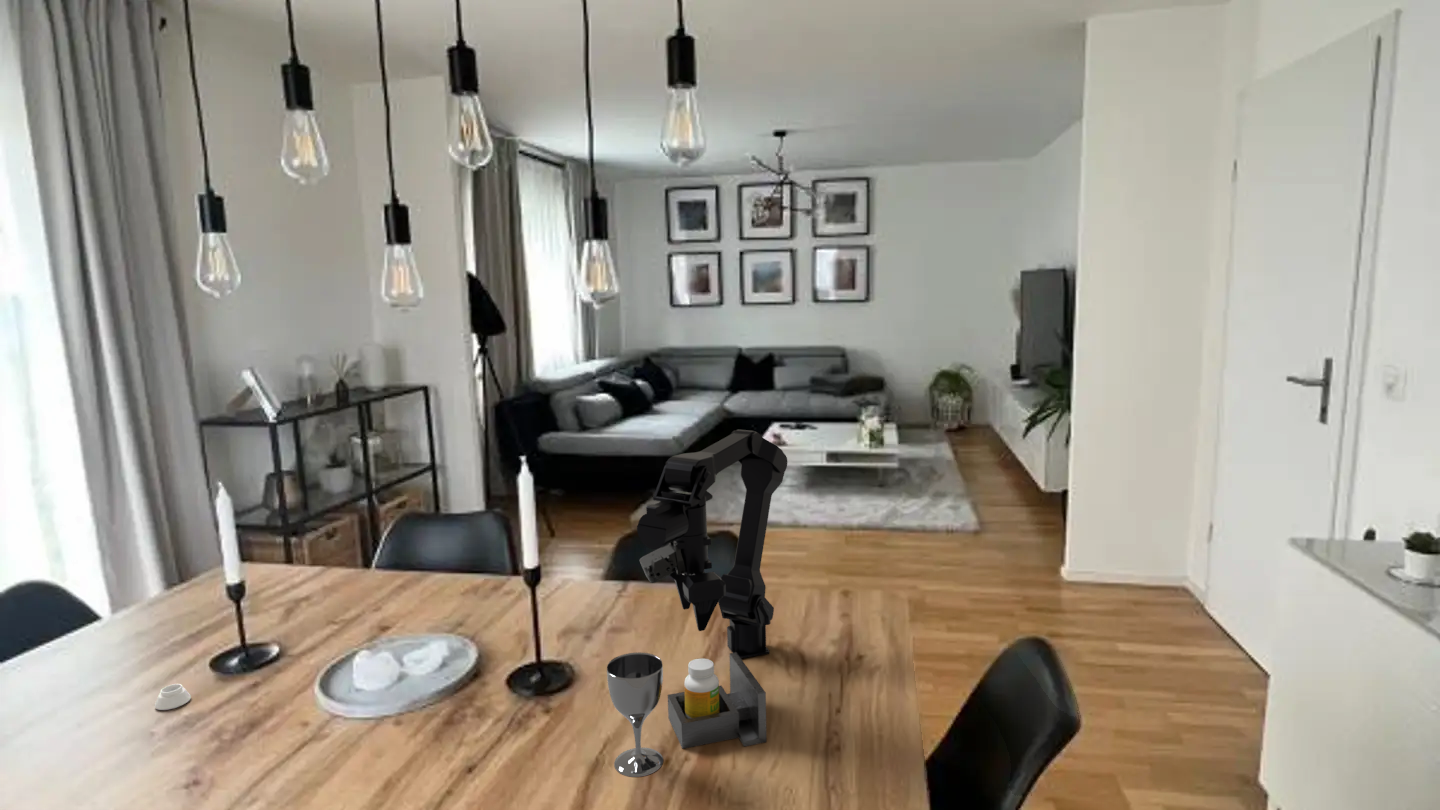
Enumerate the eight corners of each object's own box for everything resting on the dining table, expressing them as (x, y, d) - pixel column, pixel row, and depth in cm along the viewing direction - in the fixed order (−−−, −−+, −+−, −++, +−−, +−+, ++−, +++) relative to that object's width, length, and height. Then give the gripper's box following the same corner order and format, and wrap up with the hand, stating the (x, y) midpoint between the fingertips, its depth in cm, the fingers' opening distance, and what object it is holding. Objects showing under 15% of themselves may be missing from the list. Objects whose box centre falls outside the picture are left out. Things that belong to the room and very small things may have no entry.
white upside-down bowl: (148, 709, 131) (170, 713, 130) (146, 693, 131) (167, 697, 129) (176, 695, 136) (197, 699, 134) (174, 679, 136) (195, 683, 134)
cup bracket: (737, 697, 130) (736, 652, 129) (766, 741, 117) (765, 692, 116) (664, 710, 127) (663, 664, 126) (686, 758, 114) (684, 707, 112)
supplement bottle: (715, 733, 118) (714, 673, 117) (681, 730, 119) (679, 670, 118) (723, 715, 123) (721, 657, 122) (690, 712, 125) (688, 654, 123)
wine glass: (612, 748, 117) (608, 654, 114) (665, 744, 117) (662, 650, 115) (609, 780, 109) (605, 680, 107) (666, 776, 109) (662, 676, 107)
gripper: (630, 521, 135) (635, 606, 138) (656, 555, 118) (661, 651, 120) (691, 513, 139) (695, 596, 141) (725, 545, 121) (728, 639, 124)
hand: (693, 619), depth 132 cm, fingers open, 9 cm apart
